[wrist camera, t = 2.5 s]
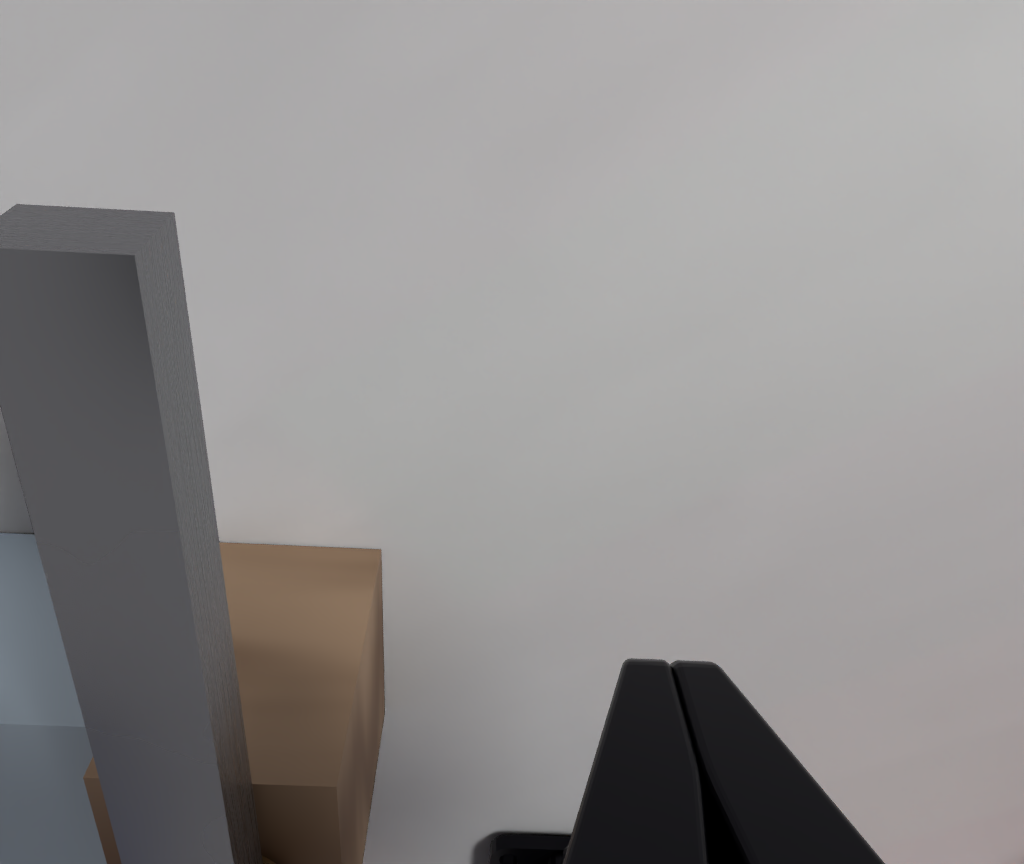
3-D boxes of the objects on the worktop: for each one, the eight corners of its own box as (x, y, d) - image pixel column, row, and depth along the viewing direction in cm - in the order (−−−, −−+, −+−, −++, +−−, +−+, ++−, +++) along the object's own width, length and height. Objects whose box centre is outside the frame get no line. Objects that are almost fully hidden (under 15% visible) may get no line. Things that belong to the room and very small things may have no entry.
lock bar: (298, 930, 17) (279, 1025, 15) (162, 926, 17) (131, 1021, 15) (218, 208, 10) (171, 265, 9) (-14, 196, 10) (-99, 251, 8)
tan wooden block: (384, 712, 23) (347, 961, 18) (217, 705, 23) (132, 954, 18) (381, 549, 20) (336, 786, 15) (192, 541, 20) (82, 777, 15)
